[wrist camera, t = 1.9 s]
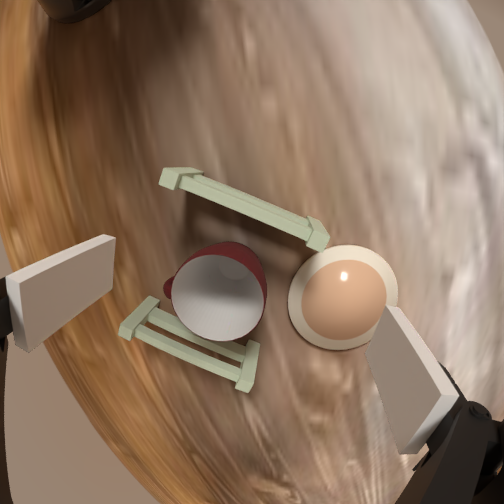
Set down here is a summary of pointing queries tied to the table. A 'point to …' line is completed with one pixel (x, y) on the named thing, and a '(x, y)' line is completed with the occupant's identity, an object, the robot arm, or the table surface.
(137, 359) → the table surface
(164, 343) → the cradle
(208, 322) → the mug
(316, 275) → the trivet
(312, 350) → the table surface
